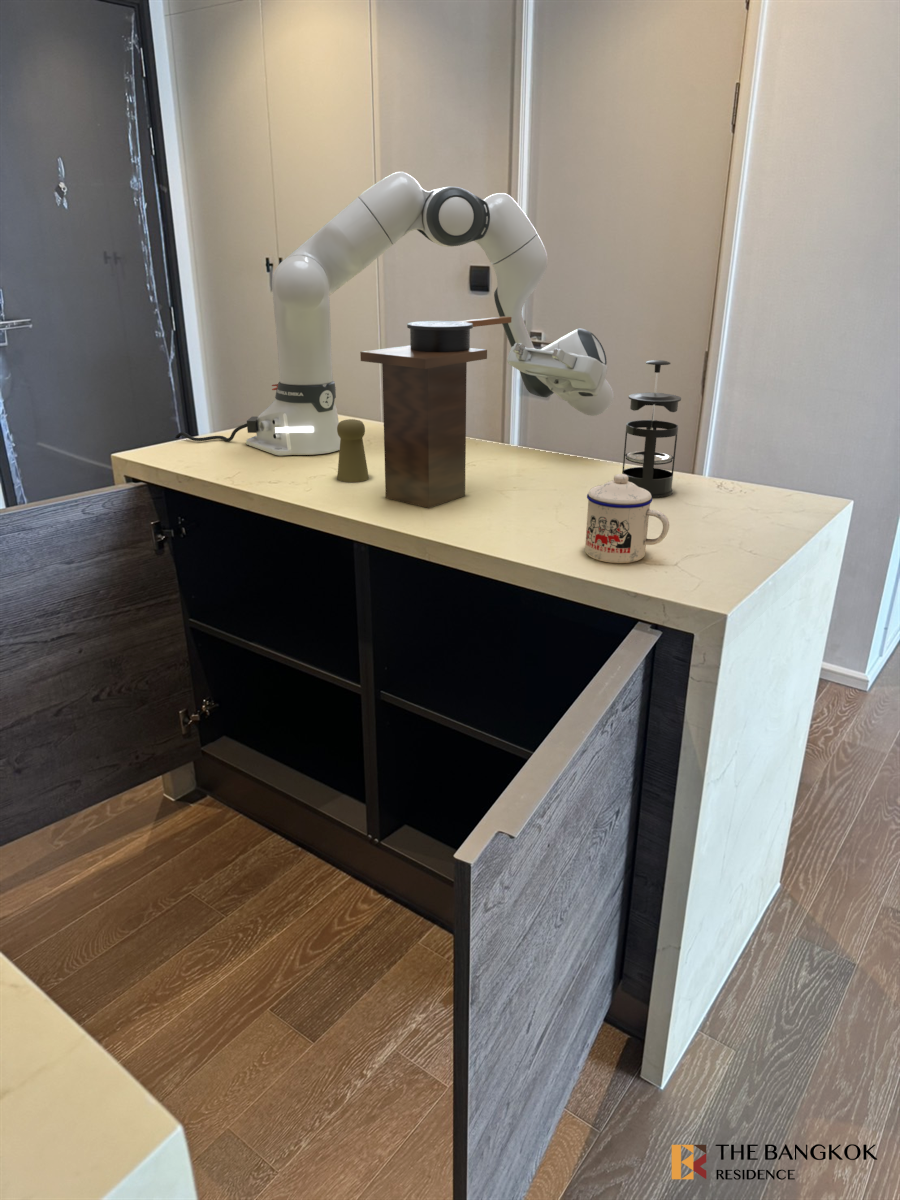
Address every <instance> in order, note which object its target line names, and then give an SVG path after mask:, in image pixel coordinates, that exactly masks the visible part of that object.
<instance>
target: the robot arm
mask: <svg viewBox="0 0 900 1200" xmlns="http://www.w3.org/2000/svg"><path fill="white" fill-rule="evenodd" d="M413 231H418V232H419V233H420V234H421V235H423V236H424V237H425V238H426V239H427V240H429V241H431V242H433V243H434V244H436V245H438V246H441V247H445V248H452V247H459V246H463V245H467V244H470V243H471V242H474V243H476V244H477V245H478V246H480V248H481V249H482V250H483V252H484V253H485V255H486V257H487V259H488V260H489V262H490V264H491V266H492V267H493V270H494V273H495V275H496V282H497V283H496V284H497V285H496V286H497V287H496V288H495V290H494V292H493V298H494V303H495V307H496V310H497V314H498V317H503V316H505V317H512V318H511V323H503V324H501V325H502V327H503V329H504V332H505V335H506V337H507V340H508V342H509V345H510V347H511V348H510V349H509V350H510V351H509V352H508V355H507V359H506V361H507V364H508V365H510V366H511V367H513V368H514V369H516V370H518V371H519V373H520V376H521V379H522V382H523V385H524V387H525V389H526V390H527V392H528V393H529V394H531V395H534V396H536V397H540V398H549V397H551V396H552V395H553V394H555V395H556V396H558V397H559V398H560V399H562V400H564V401H565V402H567V403H568V405H570V406H571V407H572V408H574V409H575V410H576V411H578V412H580V413H582V414H584V415H586V416H590V417H591V416H592V417H595V416H599V415H601V414H603V413H605V412H606V411H607V410H608V409H609V408H610V407H611V406H612V404H613V401H614V399H615V398H614V397H615V394H614V393H615V392H614V390H613V387H612V385H610V383H609V381H608V380H607V378H606V377H607V373H608V370H609V366H608V365H607V363H608V361H607V355H606V352H605V349H604V347H603V345H602V343H601V342H600V340H599V339H598V338H597V337H596V335H595V334H594V333H592V332H591V331H589V330H587V329H586V328H585V329H584V328H580V327H578V328H576V329H574V330H573V331H571V332H568V333H567V334H565V335H562V336H561V337H559V338H557V340H555V341H553V342H551V343H549V344H547V345H545V346H543V347H542V348H538V349H537V348H535V347H534V344H533V342H532V339H531V337H530V334H529V331H528V329H527V326H526V323H525V320H524V317H523V308H524V306H525V303H526V302H527V300H528V299H529V298H530V296H531V295H532V294H533V293H534V291H536V289H537V287H538V286H539V285H540V283H541V282H542V280H543V278H544V277H545V274H546V272H547V269H548V263H549V258H548V257H549V256H548V253H547V249H546V246H545V245H544V243H543V241H542V239H541V237H540V236H539V235H540V234H538V231H537V230H536V228H535V227H534V224H533V223H532V222H531V220H530V218H529V217H528V216H527V214H526V212H525V211H524V210H523V209H522V207H521V206H520V205H519V204H518V203H517V201H516V200H515V199H514V198H513V197H512V196H511V195H510V194H507V193H505V192H497V193H493V194H491V195H489V196H486V197H485V198H484V199H483V198H481V197H479V196H477V195H475V194H474V193H472V192H471V191H469V190H468V189H465V188H463V187H460V186H443V187H438V188H436V189H432V190H426V189H424V188H423V187H422V186H421V184H420V183H419V182H418V180H416V178H414V177H413V176H412V175H411V174H408V173H407V172H404V171H396V172H393V173H391V174H389V175H388V176H386V177H384V178H382V179H380V180H379V181H378V182H376V183H375V184H373V185H371V186H369V188H367V189H366V190H364V191H363V192H362V193H361V194H360V195H358V196H357V197H356V198H355V199H354V200H352V201H351V202H350V203H349V204H348V205H346V206H345V207H344V208H343V209H342V210H341V211H339V212H338V213H337V214H335V216H334V217H332V218H331V219H330V220H329V221H328V222H326V223H325V224H324V225H323V226H322V227H321V228H319V230H317V231H316V232H315V233H314V234H313V235H311V236H310V237H309V238H308V239H307V240H305V241H304V242H303V243H302V244H300V246H298V247H297V248H296V249H295V250H294V251H292V252H291V253H290V254H289V255H287V256H286V258H284V259H283V260H282V261H281V262H279V264H278V265H277V267H275V270H274V271H273V274H272V278H271V290H272V301H273V311H274V312H273V313H274V314H273V315H274V323H275V324H274V325H275V334H276V345H277V357H278V358H277V359H278V373H279V382H278V383H276V384H272V385H271V387H274V388H272V389H271V390H272V391H275V396H274V398H275V399H274V400H273V401H272V403H270V404H269V405H268V406H267V407H266V408H265V409H264V410H263V411H262V412H261V413H260V414H259V415H258V416H251V417H250V418H248V419H247V420H246V423H244V424H242V425H239V426H237V427H236V428H234V429H233V431H232V432H231V434H230V436H229V437H226V436H224V435H211V436H206V437H194V436H192V435H190V434H188V433H186V432H184V431H180V432H179V433H177V434H176V436H174V438H175V439H180V438H181V437H182V436H183V437H185V438H186V439H188V440H190V441H193V442H205V441H212V440H222V441H224V442H231V441H233V439H234V438H235V435H236V434H237V433H238V432H239V431H241V430H243V429H245V428H246V430H247V433H248V434H256V435H255V436H251V437H249V438H246V440H245V445H247V446H250V447H253V448H255V449H258V450H261V451H264V452H267V453H269V454H272V455H275V456H292V455H294V456H296V455H297V456H306V455H307V456H308V455H309V456H311V455H313V456H314V455H323V454H329V453H335V452H337V451H340V439H341V438H340V437H339V435H338V432H337V426H338V424H339V422H340V420H339V414H338V409H337V408H338V407H337V405H336V403H335V400H336V398H337V397H336V396H337V395H336V391H337V387H336V382H335V381H334V379H333V378H334V377H333V375H334V374H333V354H332V333H331V306H330V305H331V304H330V303H331V302H330V296H331V295H332V294H334V293H335V292H337V291H338V290H339V289H340V288H341V287H343V286H344V285H345V284H346V283H348V282H350V280H352V279H353V278H354V277H356V276H357V275H358V274H359V273H361V272H362V271H364V270H365V269H366V268H368V267H369V266H370V265H371V264H372V263H373V262H375V260H377V259H378V258H379V257H380V256H382V255H383V254H384V253H385V252H387V251H388V250H389V249H390V248H391V247H392V246H394V245H395V244H396V243H397V242H398V241H399V240H401V239H402V238H403V237H404V236H406V235H407V234H409V233H410V232H413Z"/></svg>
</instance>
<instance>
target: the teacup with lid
mask: <svg viewBox="0 0 900 1200" xmlns="http://www.w3.org/2000/svg"><path fill="white" fill-rule="evenodd" d="M586 498H587V515H586V529H585V543H584V551H585V554H587V556H588V557H590V558H591V559H594V560H596V561H600V562H604V563H611V564H628V563H634V562H637V561H640V560H641V559H643V558H644V557H645V555H646V552H647V551H646V550H647V546H653V545H657V544H659V543H661V542H662V541H663V540H664V539H666V537H667V535H668V533H669V530H670V521H669V518H668V516H666V514H664V513H663V512H662V511H659V510H655V509H651V503H652V502H653V498H652V496H651V494H650V492H649V491H647V490H645V489H643V488H640V487H638V486H636V485H635V484H634V483H632V482H629V481H628V476H627V475H625V474H622V473H617V474H615V475H613V480H610V481H609V480H608V481H607V482H604V483H603V484H600V485H599V484H598V485H595V486H593V487H591V488H590V489H589V490H588V491H587V494H586ZM650 516H651V517H654V518H657V519H659V520H660V522H661V523H662V530H661V533H660V535H659V536H658V537H656V538H648V528H649V519H650Z"/></svg>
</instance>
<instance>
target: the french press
mask: <svg viewBox="0 0 900 1200" xmlns="http://www.w3.org/2000/svg"><path fill="white" fill-rule="evenodd" d="M645 364H646V365H651V366H652V365H654V373H655V379H654V390H653V392H638V393H632V394H629V395H628V399H629V400H630V405H629V406H630V407H629V409H630V410H631V411H633V412H636V411H639V410H640V409H642V408H644V407H645V406H652V410H651V411H652V413H651V419H639V420H631V421H628V422H626V423H625V434H624V435H625V436H624V448H623V457H622V473H621V474H625V475H627V476H628V481H629V482H632V483H634V484H635V485H636V486H638V487H640V488H643V489H645V490H647V491H649V492H650V494H651V496H652V499H658V498H666V497H669V496H671V495H672V494H673V492H674V491H673V490H674V489H673V480H674V472H675V463H676V462H675V461H676V452H677V443H678V434H679V425H678V424H676V423H674V422H669V421H665V420H657V419H655V412H656V411H655V410H656V407H663V408H664V409H666V410H667V411H668V412H670V413H677V411H678V409H679V408H678V407H679V402H681V401H682V397H681V396H679V395H676V394H675V395H674V394H670V393H663V392H657V390H658V380H659V374H660V373H661V366H669V365H671V362H670V361H667V360H662V359H652V360H651V359H650V360H647V361H645ZM628 434H629V435H631V436H635V437H643V438H645V439H644V448H643V449H644V450H635V451H629V452H627V440H628ZM671 437H674V446H673V455H671V454H669V453H666V452H661V451H656V449H657V447H656V446H657V438H659V439H660V438H662V439H663V438H671ZM626 452H627V453H626ZM626 461H628V462H631V463H635V464H639V465H642V466H635V467H627V468H625V464H626V463H625V462H626ZM670 463H672V464H671V465H672V466H671V471H670V470H667V469H663V468H659V467H655V466H658V465H667V464H670Z"/></svg>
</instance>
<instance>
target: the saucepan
mask: <svg viewBox="0 0 900 1200" xmlns="http://www.w3.org/2000/svg"><path fill="white" fill-rule="evenodd" d="M511 318H512V317H505V316H503V317H500V316H493V317H486V318H485V317H484V318H475V319H467V320H456V321H455V320H454V321H453V320H421V321H411V322H408V323H406V328H407V329H409V336H410V337H409V340H410V343H409V345H410V348H411V349H412V350H416V351H424V352H457V351H465V350H469V349H470V348H471V330H472V329H473V328H476V327H485V326H494V325H502V324H503V323H511Z"/></svg>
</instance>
